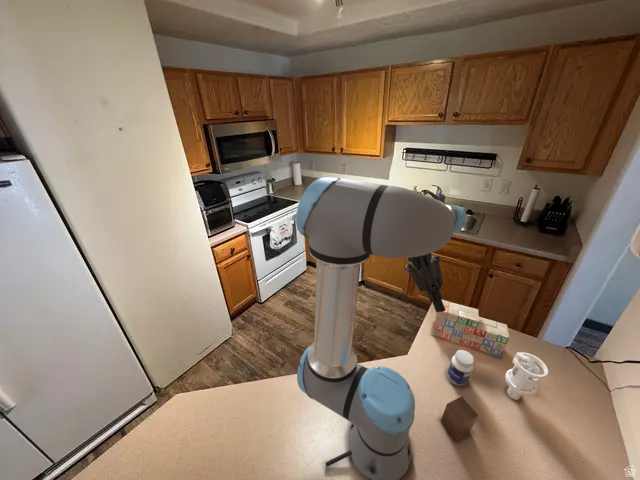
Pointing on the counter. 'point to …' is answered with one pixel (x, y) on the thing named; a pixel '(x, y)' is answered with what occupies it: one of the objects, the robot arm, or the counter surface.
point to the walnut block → (459, 417)
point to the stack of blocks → (470, 329)
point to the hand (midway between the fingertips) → (440, 311)
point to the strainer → (524, 375)
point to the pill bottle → (460, 368)
